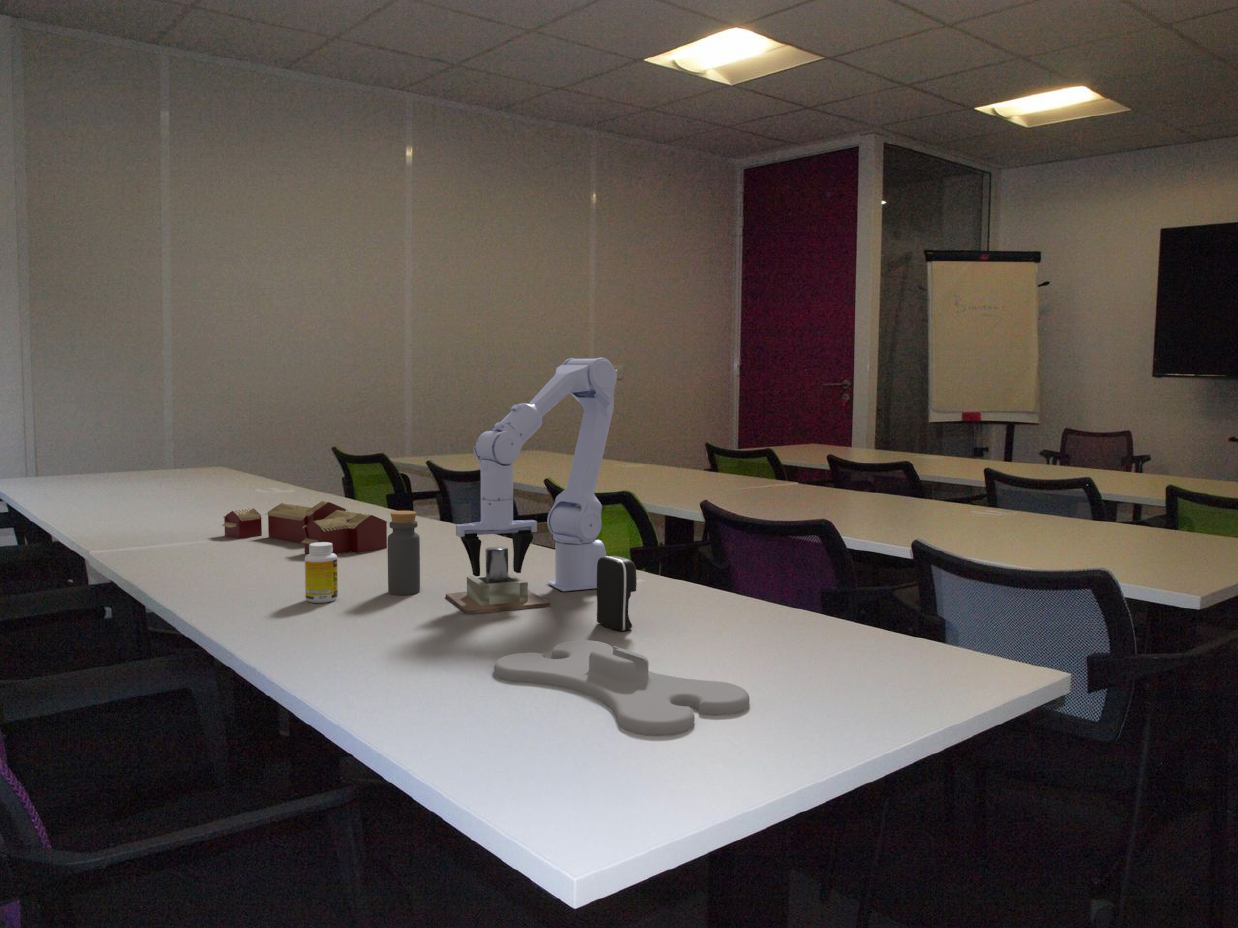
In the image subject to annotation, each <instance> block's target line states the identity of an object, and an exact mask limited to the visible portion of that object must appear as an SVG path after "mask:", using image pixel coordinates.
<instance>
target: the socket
mask: <svg viewBox="0 0 1238 928" xmlns="http://www.w3.org/2000/svg"><path fill="white" fill-rule="evenodd" d="M528 584H529V582H528V581H526V580H524V579H523V578H521V577H520V576H518V575H516V574H515V573H512V572H508V582H503V583H491V584H486V574H484V575H483V574H482V575H480V576H478V577H476V576H474V575H472V576H466V591H461V592H458V591H457V592H448V593H445V598H446V599H448V600H449V601H450V602H452V604H454V605H455V606H456V607H458V608H459V609H461V611H463V612H464V613H465V614H467V615H474V614H483V613H494V612H504V611H505V612H506V611H514V610H525V609H535V608H544V607H551V602H550V601H548V600H546V599H545V598H543V597H541V596H539V595H537V594H536V593H534V592H533V591H532V590H530V589H529V585H528Z"/></svg>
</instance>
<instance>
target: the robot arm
mask: <svg viewBox="0 0 1238 928" xmlns="http://www.w3.org/2000/svg"><path fill="white" fill-rule="evenodd" d="M617 379H618V374H617V372H616V370H615V368H614V366H613V364H612V362H611V361H610V360H609V359H607V358H606V357H597V358H576V357H570V358H567V359H565V360H564V361H563V362H562V363H561V365H559V366H557V367H556V368H555V374H554V375H553V377H551V378H550V380H548V382H547V383H546V384H545V385H544V386H543V388H541V389H540V391H538V393H537V394H536V395H535V396H534V397H533V398H532V399H531V400H530V401H529V403H526V402H520V403H518V404H513V405H512V407H511V408H510V412H509V413H508V414H507V415H506V416H505V417H504V418H503V419H502V420H500V422H499V421H498V422H496V423H495V424H494V425H493V426H494V428H492V430H485V431H484V432H482V433H480V435H479V436H478V438H477V440H476V442H475V445H474V446H473V447H472V448H473V450H472V451H473V453H474V457H476V459H477V461H478V469H479V470H480V521H475V522H469V523H467V522H466V523H462V524H461V523H460V524H455V536H457V537H459V538H460V540H461V541H460V542H462V544H463V546H464V548H465V551H466V553H467V555H468V558H469V562H470V565H471V570H472V571H471V572H472V576H476V577H478V576H481V560H480V559H481V549H482V548H481V547H482V540H481V539H480V537H479V536H481V535H482V536H483V535H485V536H486V535H496V534H498V535H500V534H511V539H512V549H513V559H512V560H513V561H512V564H513V565H512V566H513V568H512V569H513V572H515V573H517V574H521V573H522V568H523V563H524V560H525V558H526V557H525V556H526V553H527V552H528V549H529V548H530V545H531V543H532V542H533V539H534V534H533V533H537V532H538V521H537V520H534V519H527V520H526V519H525V520H521V519H520V520H518V519H517V520H514V462H515V461H517V460H518V459H519V456H520V454H521V449H522V447H523V446H524V444H525V443H527V441H529V439H530V438H531V437H532V436H533V435H534V434H536V432H537V431H538V430H540V428H541V427H542V425H543V417H544V416H545V415H546V414H547V413H548V412H550V411H551V410H552V409H553V408H554V407H555V406H556V405H558V404H559V403H560V402H561V401H562V400H563V399H564V398H566V397H567V396H568V395H569V394H571V396H572V397H573V398H574V399H575V400H576V401H577V402H578V403H580V405H581V407H582V409H583V415H582V419H581V423H580V427H579V432H578V438H577V441H576V446H575V450H574V454H573V458H572V463H571V468H570V472H569V476H568V480H567V481H568V482H567V485H566V488H565V489H564V490H563V491H561V492H560V493H558V495H557V496H556V497H555V500H554V504H553V505H552V508H551V509H550V511H548V514H547V518H546V520H547V521H546V522H547V523H546V524H547V528H548V530H549V532H550V533H551V534H553V535H552V538H553V540H555V541H554V543H555V545H554V546H555V547H554V550H555V552H554V553H555V556H554V557H555V560H554V562H555V565H554V567H555V568H554V572H555V574H554V578H555V579H553V580H548V581H547V583H548V584H549V585H550V586H552V587H553V588H555V589H558V591H560V592H561V591H562V592H570V591H581V590H582V591H583V590H590V589H597V563H598V560H599V559H600V558H601V557H604V556H607V552H606V547H605V544H604V543H603V540H600V539H596V538H597V537H599V534H600V532H601V529H602V525H603V524H602V523H603V521H602V509H603V505H602V504H601V502H600V500H599V499H598V498H597V496H596V495H595V493H596V488H597V483H598V479H599V475H600V471H601V466H602V462H603V458H604V452H605V449H606V448H605V447H606V445H607V439H608V435H609V430H610V426H611V422H612V418H613V414H614V407H615V401H614V400H615V399H614V397H615V396H614V393H615V388H616V385H617V384H616V383H617ZM579 506H580V507H579Z"/></svg>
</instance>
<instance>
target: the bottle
mask: <svg viewBox="0 0 1238 928" xmlns="http://www.w3.org/2000/svg"><path fill="white" fill-rule="evenodd" d="M389 515H390V517H391V521H390V522H389V523H388V524H389V526H388V527H389V528H390V529H392V533H390V534H389V535H387V589H388V590H387V591H388V593H389V594H391V595H395V596H408V595H409V596H410V595H415V594H418V593H420V592H421V546H420V545H421V539H420V534H418V533H417V532H415V529H416V528H418V527H419V526H418V525H419V524H418V521H416V517H417V512H416V511H414V510H395V511H392V512H390V514H389Z"/></svg>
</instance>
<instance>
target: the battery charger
mask: <svg viewBox="0 0 1238 928" xmlns="http://www.w3.org/2000/svg"><path fill="white" fill-rule="evenodd" d="M637 583H638V582H637V567H636V565H635V563H634V562H633V561H632V560H631V559H629V558H626V557H623V556H617V555H609V556H608V555H606V556H604V557H601V558H600V559H599V560H598V563H597V588H596V622H597V623H598V624H599V625H602V626H603V627H607V628H610V629H612V630H616V631H619V632H623V631H624V632H625V631H626V630H630V629H632V628H633V623H632V622H631V619H630V617H629V600H630V598H631V596H632V593H633V592H636V591H637Z"/></svg>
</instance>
